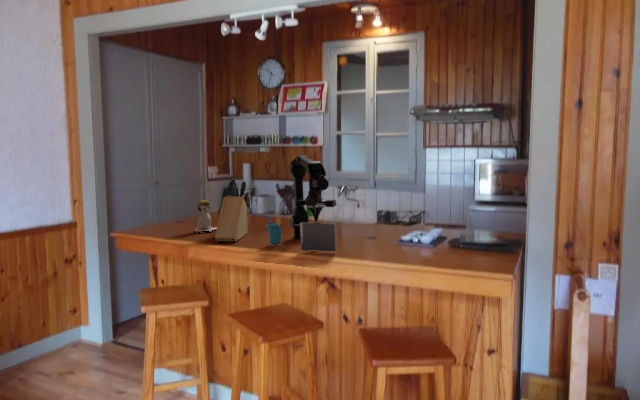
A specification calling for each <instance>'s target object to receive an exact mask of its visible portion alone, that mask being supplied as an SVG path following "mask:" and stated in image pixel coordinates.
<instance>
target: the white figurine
mask: <svg viewBox="0 0 640 400" xmlns="http://www.w3.org/2000/svg"><path fill="white" fill-rule="evenodd" d="M211 207H212V205H211V203H210V201H209V200H207V199H201V200H200V201H198V204H197V210H198V211H199V213H198V217H197V227H196V228H195V229H194V232H195V231H209V232H212V230H215V229H217V226H212V218H211V215H210V213H209V211H208V210H211Z"/></svg>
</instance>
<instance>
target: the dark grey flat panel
mask: <svg viewBox="0 0 640 400" xmlns="http://www.w3.org/2000/svg"><path fill="white" fill-rule="evenodd" d="M300 238H301V239H300V249H301V250H309V251H311V250H318V251H317V252H337V223H334V222H309V221H308V222H305V223H304V222H301V223H300Z"/></svg>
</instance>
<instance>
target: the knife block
mask: <svg viewBox="0 0 640 400" xmlns="http://www.w3.org/2000/svg"><path fill="white" fill-rule="evenodd" d="M237 186H238V184H237V182H236V178H235V179H234V178H232V179H230V181H229V183H228V186H227V192H226V193H227V194H226V196H224V197H223V199H222V204H221V210H220V214H219V218H218V222H217V225H216V228H217V230H216V231H215V235H214V236H215V237H214V239H215V241H216V240H218V241H221V242H233V241H236V242H238V241H239V240H240V239H242V238H243V237H244V236H245V235H247V234H248V232H249V228H248V227H249V226H248V221H249V220H248V212H249V209H250V205H251V202H250V201H249V195H250V192H248V191H246V188H247V182H246V181H242V182H241V185H240V190H239V193H237ZM241 237H242V238H241ZM238 239H239V240H238ZM237 240H238V241H237ZM218 241H217V242H218Z"/></svg>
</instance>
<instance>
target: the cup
mask: <svg viewBox="0 0 640 400" xmlns="http://www.w3.org/2000/svg"><path fill="white" fill-rule="evenodd" d="M261 216H262V217H263V218H264V217H267V220H268V223H266V227H267V233H268V240H269V245H270V244H272V245H277V244H280V243H281V244H282V229H283V228H282V227H283V223H282V219H281V218H280V217H277V218H275V221H274V222H271V218H270V215H269V214H263V215H261Z"/></svg>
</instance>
